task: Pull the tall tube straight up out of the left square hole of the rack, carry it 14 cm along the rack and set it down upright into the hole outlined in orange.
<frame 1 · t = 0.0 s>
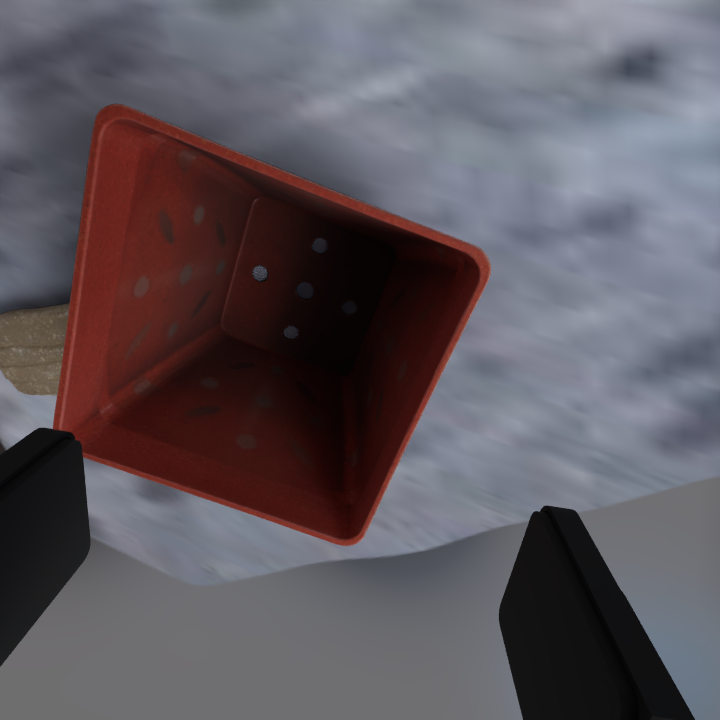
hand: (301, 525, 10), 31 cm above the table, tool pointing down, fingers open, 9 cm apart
decorative stone: (92, 341, 43), on the table
plant pot: (303, 289, 40), on the table
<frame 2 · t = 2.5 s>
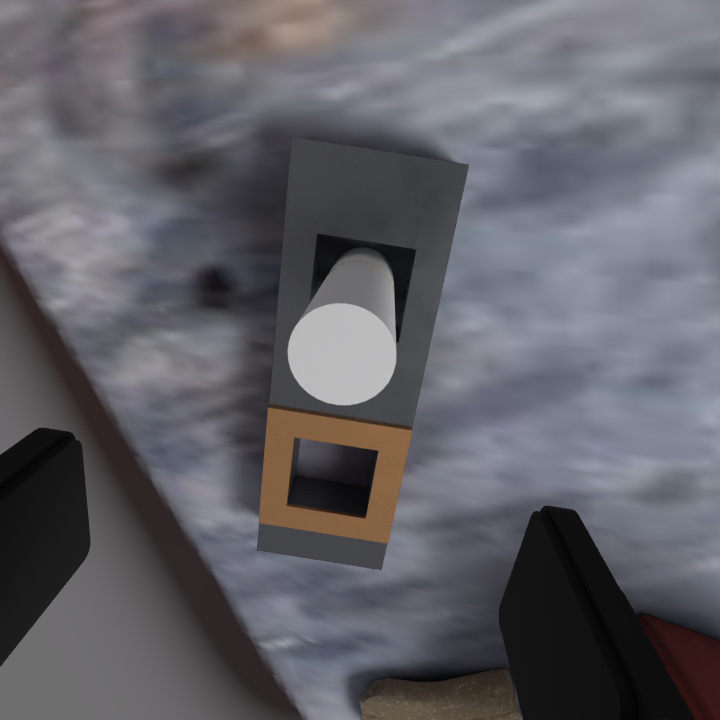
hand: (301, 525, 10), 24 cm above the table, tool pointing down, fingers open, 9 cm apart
tube: (362, 278, 33), on the table
decorative stone: (436, 693, 48), on the table
plant pot: (653, 672, 45), on the table
rack: (348, 371, 35), on the table
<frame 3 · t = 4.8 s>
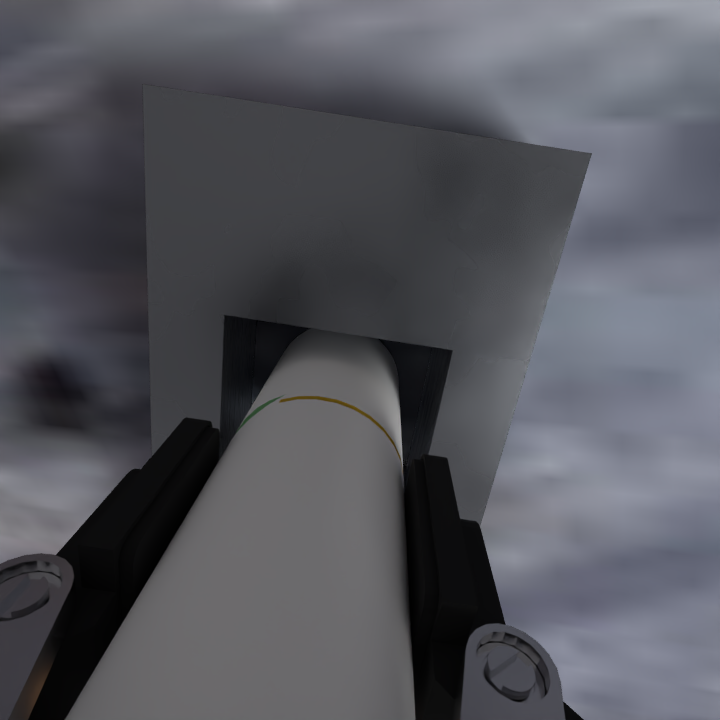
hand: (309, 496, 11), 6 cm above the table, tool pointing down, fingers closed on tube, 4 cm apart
tube: (338, 379, 17), on the table, touching gripper
rack: (316, 536, 19), on the table
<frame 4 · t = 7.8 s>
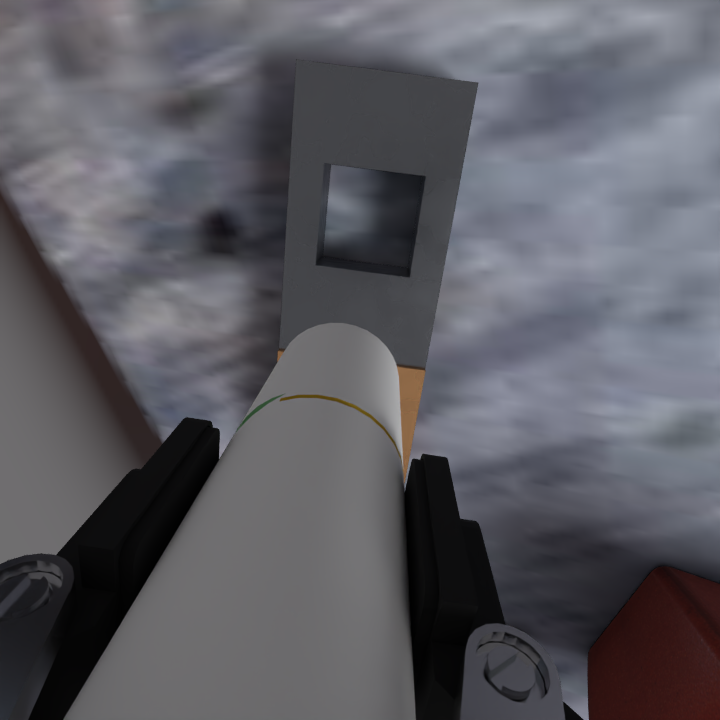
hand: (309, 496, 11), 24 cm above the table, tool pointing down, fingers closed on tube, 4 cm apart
tube: (338, 378, 17), point 18 cm above the table, touching gripper
plant pot: (675, 628, 44), on the table
rack: (358, 316, 34), on the table
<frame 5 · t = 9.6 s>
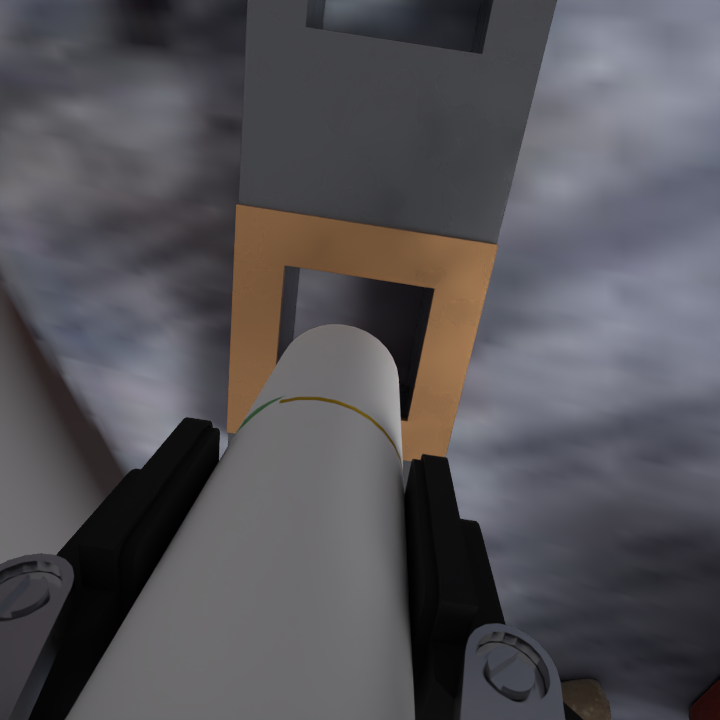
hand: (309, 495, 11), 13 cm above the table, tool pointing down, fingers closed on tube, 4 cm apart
tube: (338, 380, 17), point 7 cm above the table, touching gripper
decorative stone: (485, 710, 34), on the table
rack: (377, 169, 20), on the table
when the fingers open (8 cm above the table, at t = 11.1 s): tube drops 1 cm, on the table.
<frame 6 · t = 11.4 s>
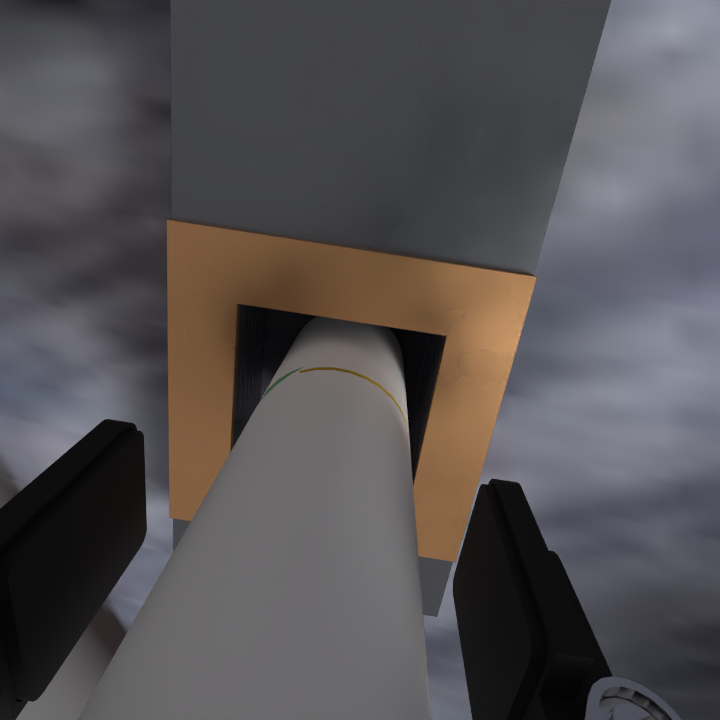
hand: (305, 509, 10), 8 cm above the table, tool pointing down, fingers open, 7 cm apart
tube: (347, 361, 18), on the table
rack: (368, 170, 15), on the table
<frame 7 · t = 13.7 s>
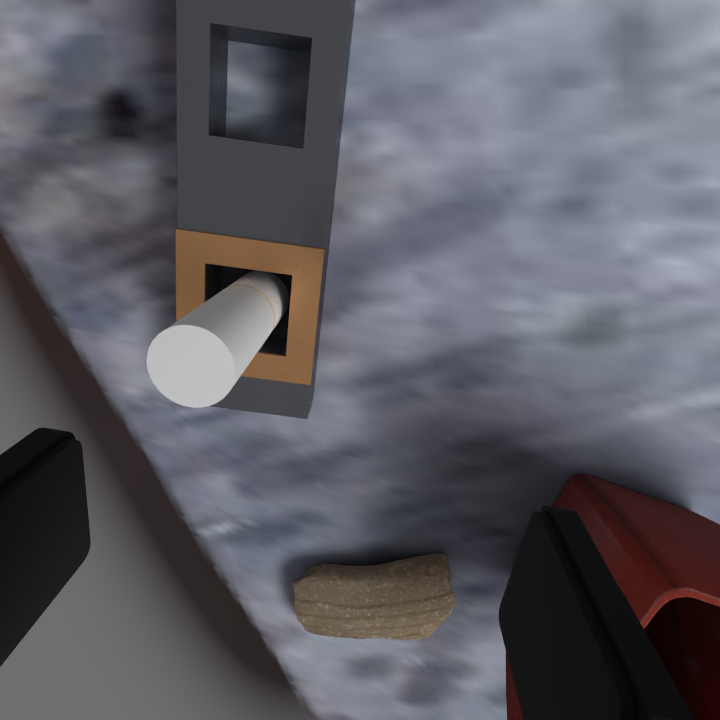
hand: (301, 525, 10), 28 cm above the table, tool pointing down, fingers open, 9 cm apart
tube: (262, 297, 37), on the table
decorative stone: (373, 584, 47), on the table
plant pot: (597, 542, 44), on the table
rack: (264, 205, 34), on the table
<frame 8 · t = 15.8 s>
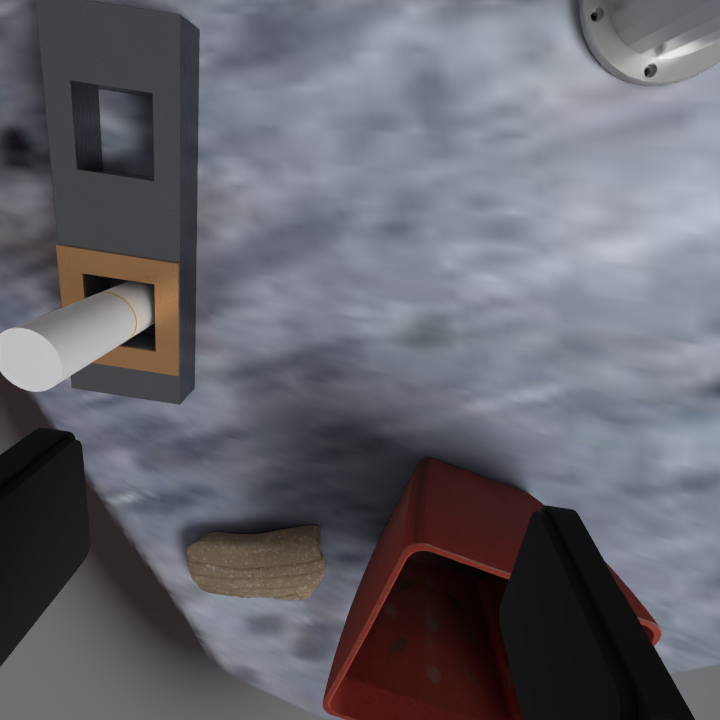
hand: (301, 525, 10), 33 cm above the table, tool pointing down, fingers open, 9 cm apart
tube: (145, 300, 43), on the table
decorative stone: (261, 551, 54), on the table
plant pot: (451, 518, 51), on the table
rack: (139, 224, 41), on the table
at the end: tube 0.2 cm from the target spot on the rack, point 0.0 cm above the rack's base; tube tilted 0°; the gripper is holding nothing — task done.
